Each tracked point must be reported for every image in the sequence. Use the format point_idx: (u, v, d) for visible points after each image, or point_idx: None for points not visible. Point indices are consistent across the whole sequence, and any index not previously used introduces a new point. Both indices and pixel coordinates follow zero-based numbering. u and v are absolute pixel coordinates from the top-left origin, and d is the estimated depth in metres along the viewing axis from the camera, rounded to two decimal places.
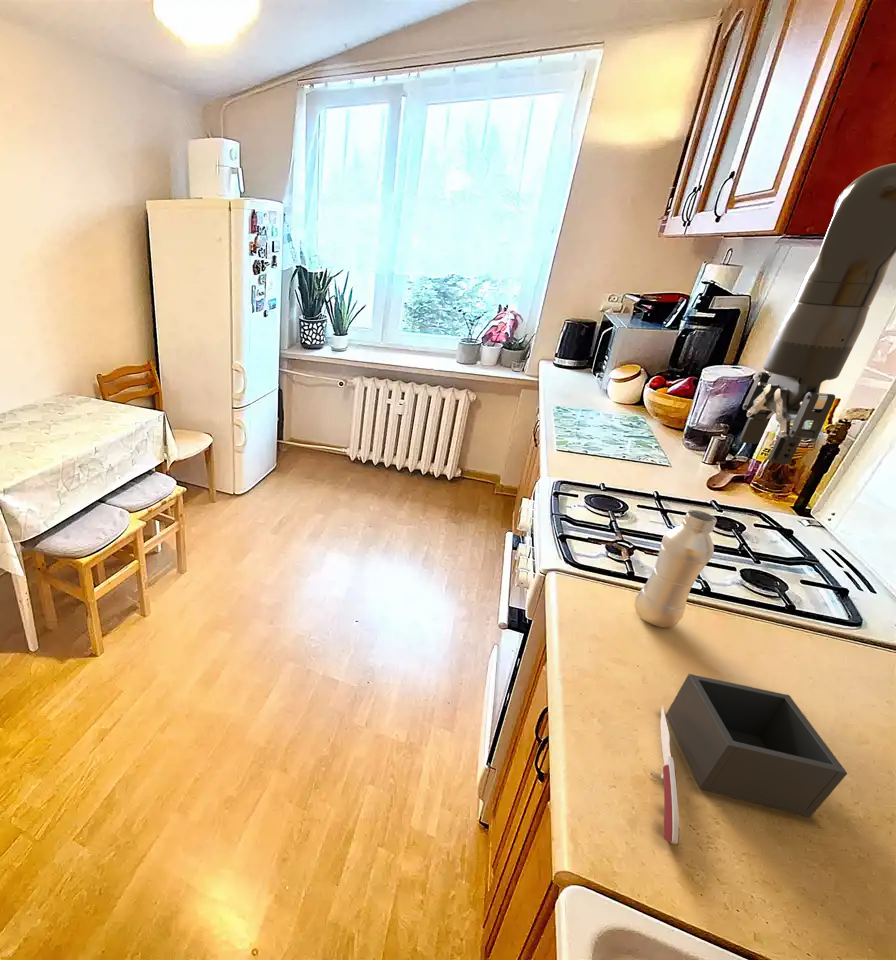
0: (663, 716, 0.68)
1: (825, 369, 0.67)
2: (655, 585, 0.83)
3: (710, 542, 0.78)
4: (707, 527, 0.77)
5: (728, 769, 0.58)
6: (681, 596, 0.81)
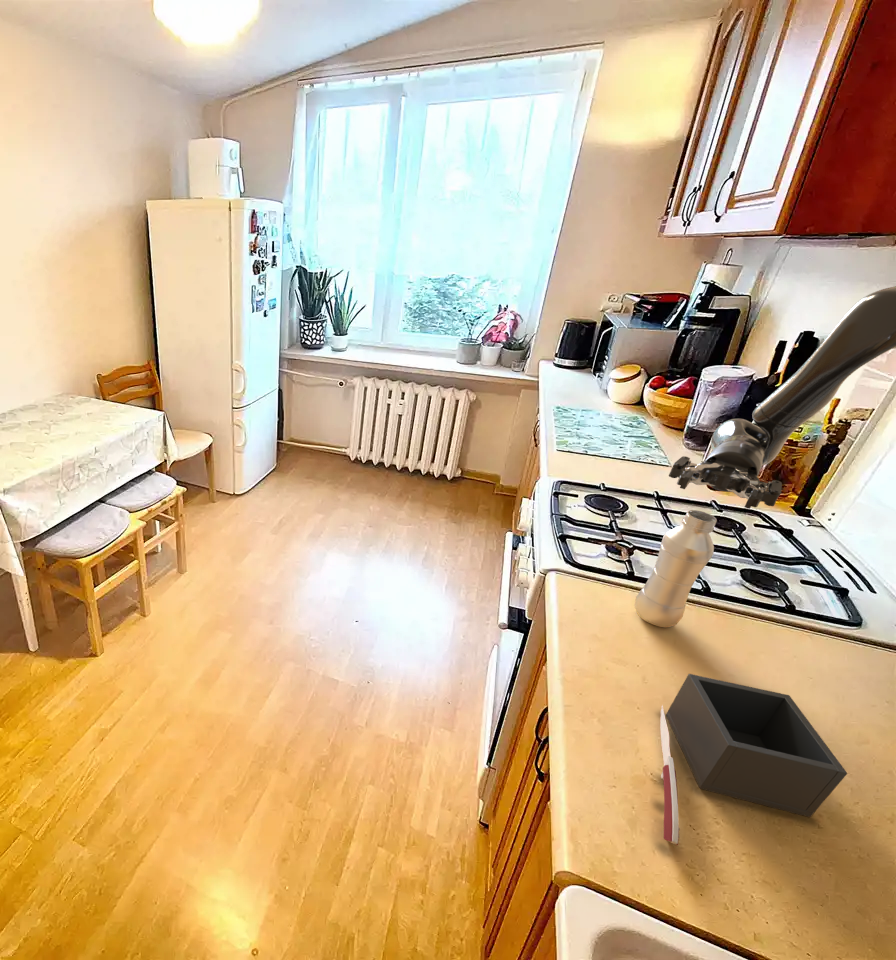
0: (662, 716, 0.68)
1: (705, 460, 0.94)
2: (655, 585, 0.83)
3: (710, 542, 0.78)
4: (707, 527, 0.77)
5: (728, 769, 0.58)
6: (681, 596, 0.81)
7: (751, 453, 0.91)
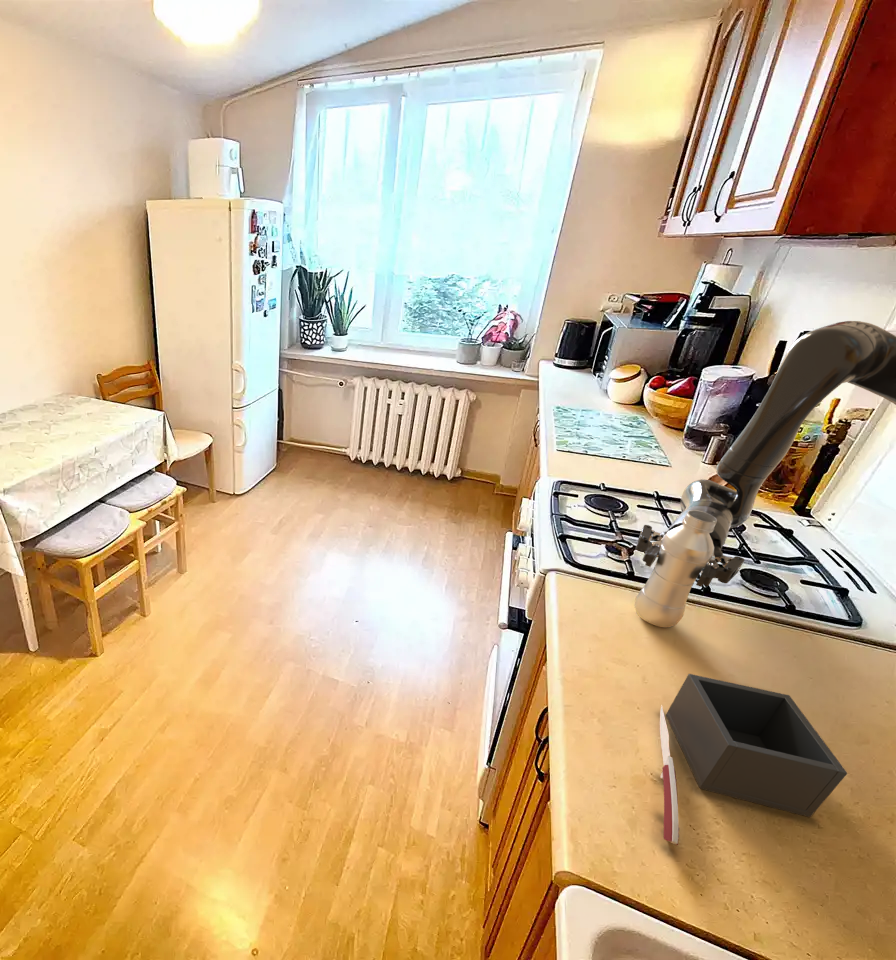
0: (662, 716, 0.68)
1: None
2: (655, 586, 0.83)
3: (710, 542, 0.78)
4: (707, 527, 0.77)
5: (728, 769, 0.58)
6: (681, 596, 0.81)
7: (716, 523, 0.87)
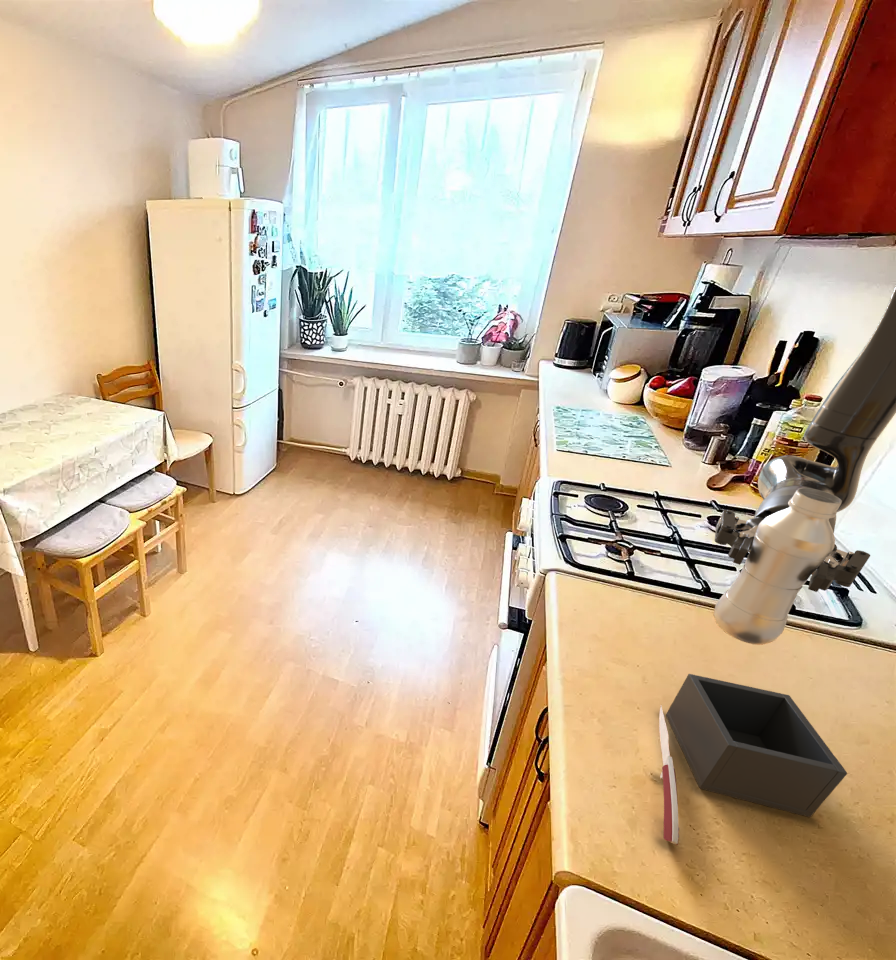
0: (661, 715, 0.68)
1: (756, 513, 0.70)
2: (746, 590, 0.63)
3: (831, 531, 0.57)
4: (829, 510, 0.56)
5: (728, 769, 0.58)
6: (785, 605, 0.61)
7: None
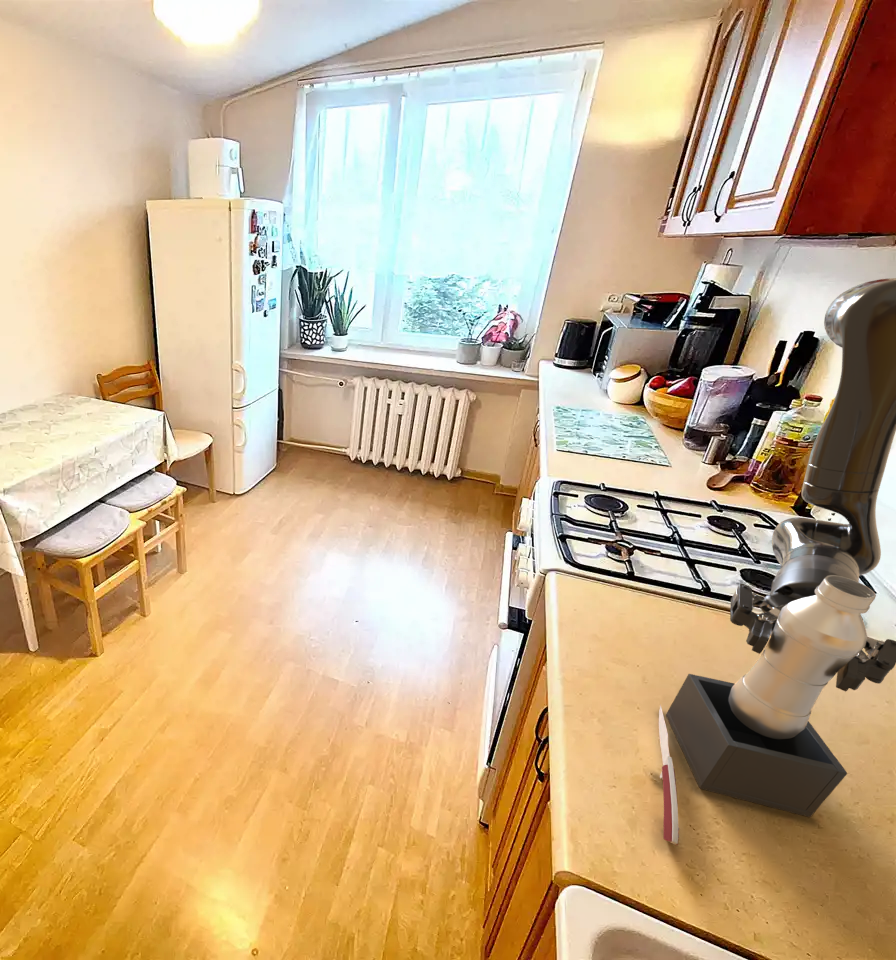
0: (661, 715, 0.68)
1: (774, 587, 0.65)
2: (766, 681, 0.57)
3: (863, 626, 0.51)
4: (861, 605, 0.50)
5: (728, 769, 0.58)
6: (809, 700, 0.55)
7: None
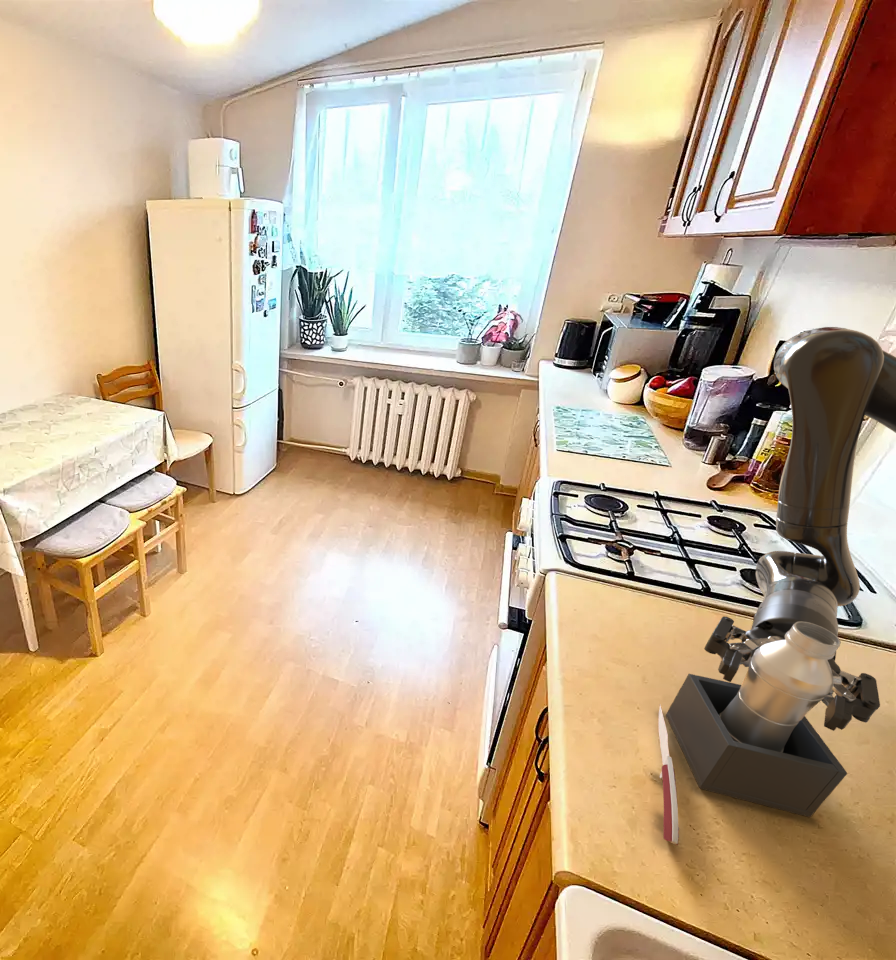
0: (660, 715, 0.68)
1: (755, 622, 0.67)
2: (741, 719, 0.60)
3: (829, 671, 0.54)
4: (827, 652, 0.53)
5: (728, 769, 0.58)
6: (781, 739, 0.58)
7: (824, 621, 0.63)
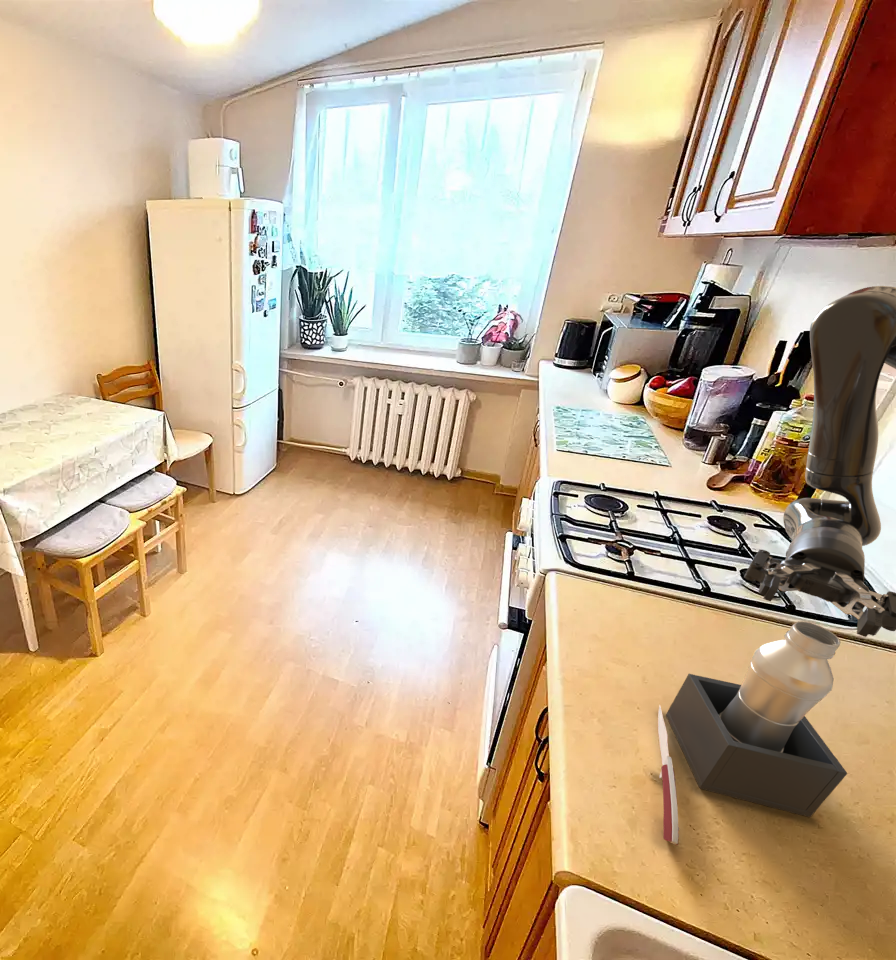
0: (660, 715, 0.68)
1: (788, 554, 0.74)
2: (741, 719, 0.60)
3: (829, 671, 0.54)
4: (827, 652, 0.53)
5: (728, 769, 0.58)
6: (781, 739, 0.58)
7: (852, 550, 0.70)
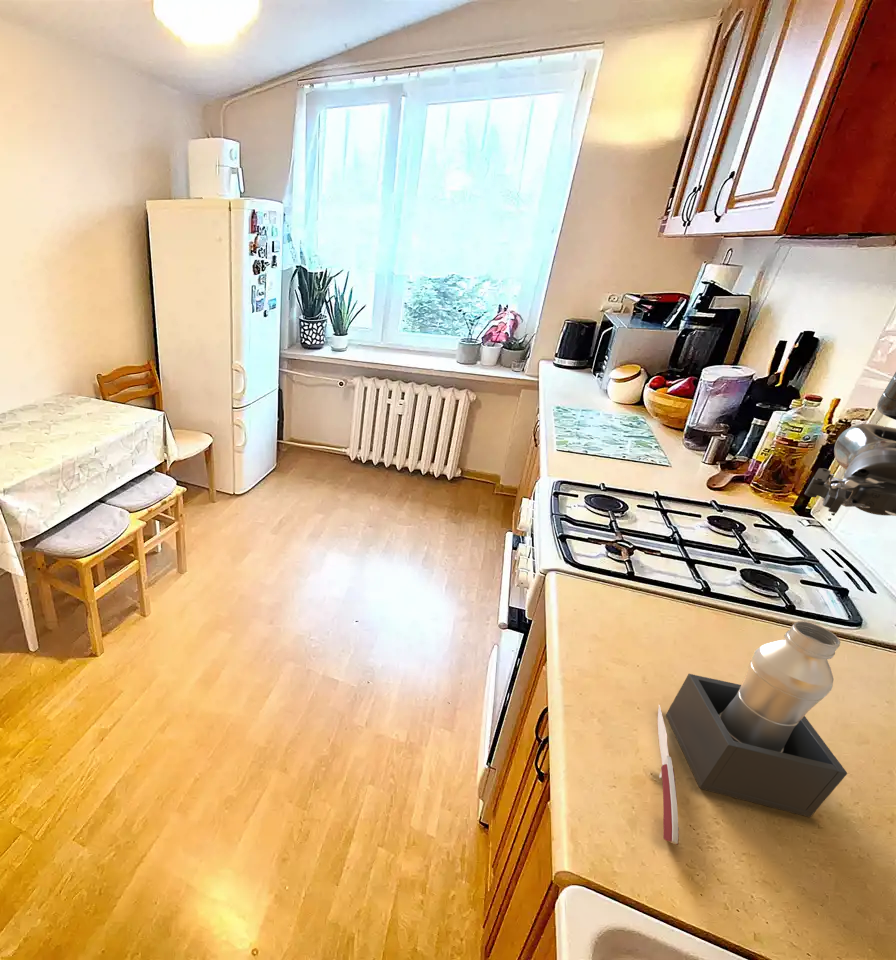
0: (660, 715, 0.68)
1: (849, 473, 0.72)
2: (741, 719, 0.60)
3: (829, 671, 0.54)
4: (827, 652, 0.53)
5: (728, 769, 0.58)
6: (781, 739, 0.58)
7: None
